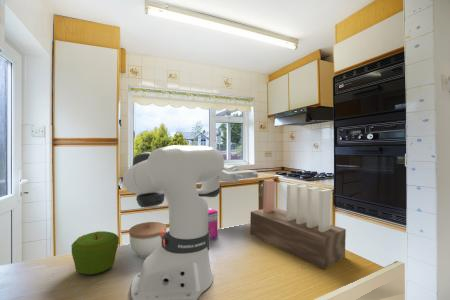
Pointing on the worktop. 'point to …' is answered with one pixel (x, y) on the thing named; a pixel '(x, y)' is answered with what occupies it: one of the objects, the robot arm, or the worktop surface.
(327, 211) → the domino
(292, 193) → the domino
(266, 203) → the domino
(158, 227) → the lidded bowl
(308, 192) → the domino
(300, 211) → the domino
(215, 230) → the supplement box
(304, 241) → the domino stand
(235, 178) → the robot arm
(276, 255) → the worktop surface
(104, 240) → the apple
